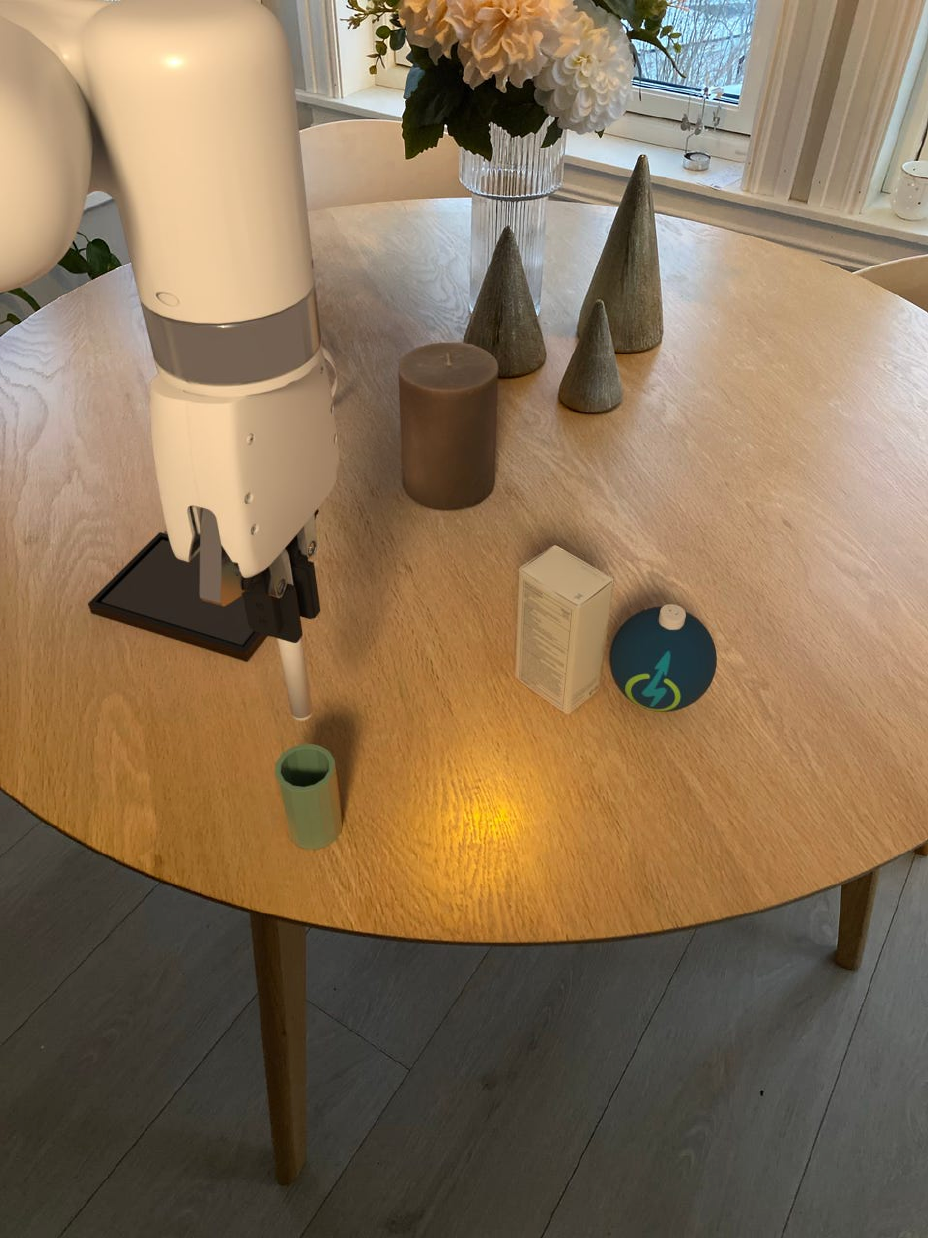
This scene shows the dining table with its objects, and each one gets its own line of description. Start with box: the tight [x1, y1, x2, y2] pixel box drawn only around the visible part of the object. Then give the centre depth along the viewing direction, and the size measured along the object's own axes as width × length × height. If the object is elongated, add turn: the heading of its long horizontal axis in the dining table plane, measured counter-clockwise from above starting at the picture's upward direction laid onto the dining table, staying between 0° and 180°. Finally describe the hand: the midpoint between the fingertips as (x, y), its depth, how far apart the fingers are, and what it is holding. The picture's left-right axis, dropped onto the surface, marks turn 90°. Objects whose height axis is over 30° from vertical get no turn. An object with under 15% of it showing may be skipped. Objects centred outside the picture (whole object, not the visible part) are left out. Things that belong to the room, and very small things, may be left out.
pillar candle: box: [397, 341, 499, 511], centre depth 95 cm, size 10×10×15 cm
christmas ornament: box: [609, 603, 718, 713], centre depth 76 cm, size 8×8×10 cm
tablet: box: [87, 531, 268, 663], centre depth 87 cm, size 16×11×1 cm
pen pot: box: [274, 743, 343, 851], centre depth 67 cm, size 4×4×7 cm
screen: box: [101, 540, 255, 647], centre depth 86 cm, size 14×9×1 cm, turn 69°
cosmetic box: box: [514, 544, 615, 716], centre depth 76 cm, size 6×4×12 cm
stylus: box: [276, 549, 314, 722], centre depth 56 cm, size 1×1×14 cm
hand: (285, 620), depth 55 cm, fingers closed on stylus, 1 cm apart
